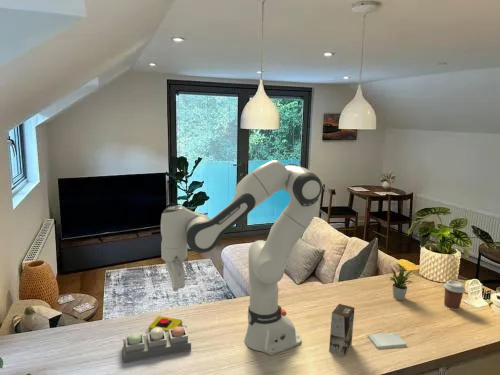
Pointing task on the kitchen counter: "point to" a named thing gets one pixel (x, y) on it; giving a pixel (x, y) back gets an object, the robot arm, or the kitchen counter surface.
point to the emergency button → (165, 324)
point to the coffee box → (341, 329)
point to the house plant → (400, 283)
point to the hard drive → (386, 340)
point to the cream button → (156, 334)
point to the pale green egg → (134, 339)
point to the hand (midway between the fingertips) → (175, 289)
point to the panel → (156, 346)
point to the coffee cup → (453, 294)
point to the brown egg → (177, 331)
